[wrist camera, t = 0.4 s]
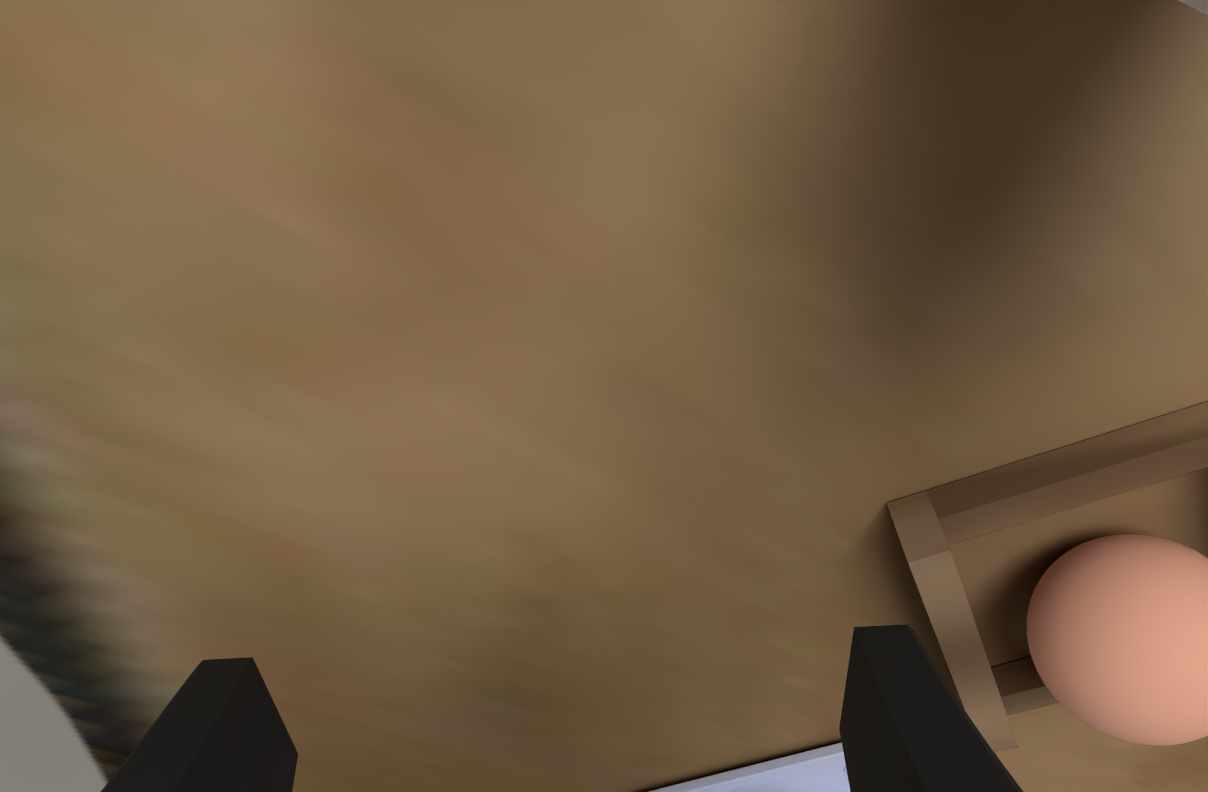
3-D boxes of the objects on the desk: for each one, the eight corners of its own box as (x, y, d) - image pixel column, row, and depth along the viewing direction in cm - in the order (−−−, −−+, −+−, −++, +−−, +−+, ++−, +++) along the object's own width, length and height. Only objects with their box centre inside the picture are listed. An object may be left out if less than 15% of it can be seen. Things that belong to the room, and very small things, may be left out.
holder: (1280, 612, 26) (1325, 672, 25) (960, 695, 28) (982, 755, 27) (1274, 380, 21) (1330, 436, 20) (886, 502, 23) (908, 562, 22)
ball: (1200, 589, 26) (1311, 756, 22) (1015, 639, 27) (1089, 806, 23) (1187, 467, 23) (1312, 632, 19) (981, 529, 24) (1058, 696, 20)
